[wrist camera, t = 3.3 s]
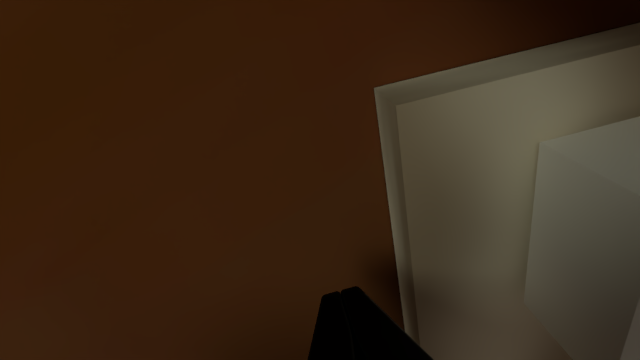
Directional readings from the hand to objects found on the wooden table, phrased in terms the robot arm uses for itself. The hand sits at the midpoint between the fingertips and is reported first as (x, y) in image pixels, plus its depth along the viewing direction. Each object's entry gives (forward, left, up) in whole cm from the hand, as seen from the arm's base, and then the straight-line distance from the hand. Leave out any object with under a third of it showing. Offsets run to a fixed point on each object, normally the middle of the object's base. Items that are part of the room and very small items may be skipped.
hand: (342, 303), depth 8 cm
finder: (+7, 0, -1) cm, 8 cm away
